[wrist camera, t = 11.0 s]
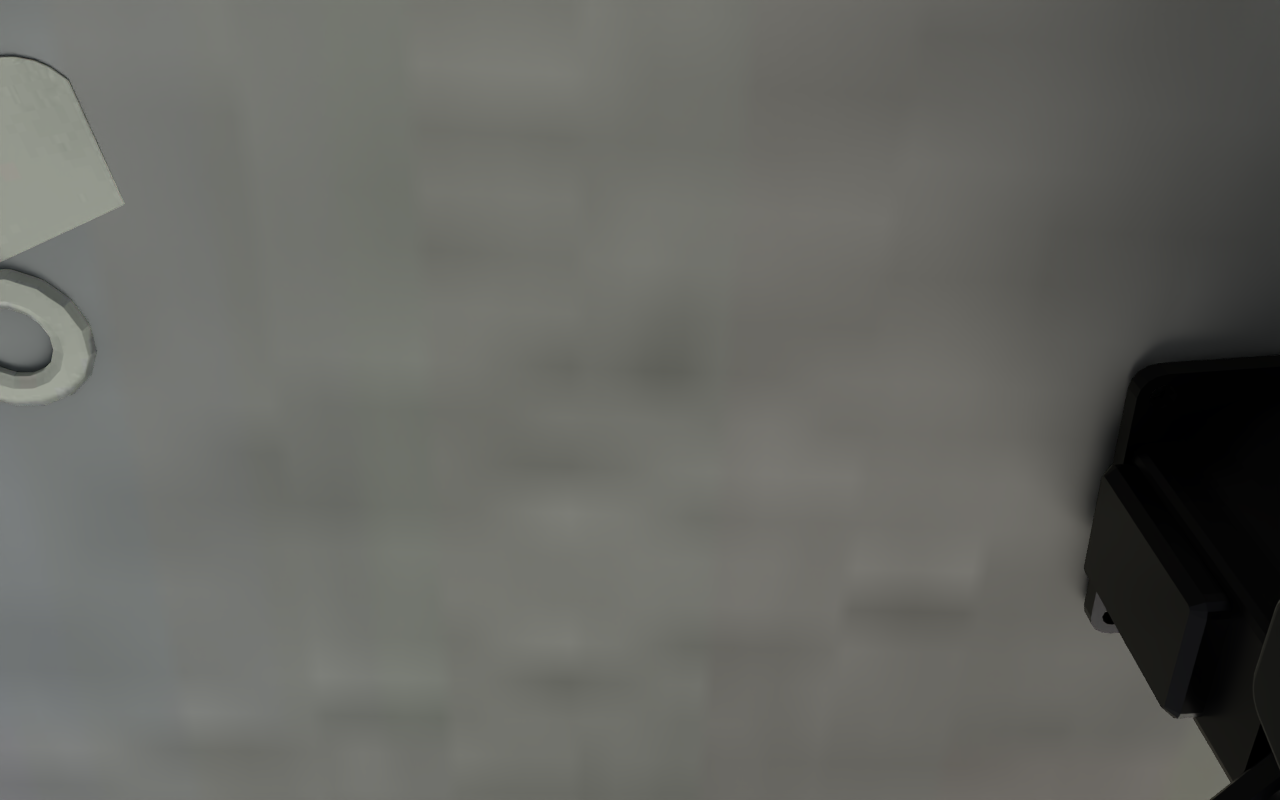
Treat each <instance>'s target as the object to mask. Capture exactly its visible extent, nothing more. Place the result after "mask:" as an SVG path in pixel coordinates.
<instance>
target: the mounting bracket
mask: <svg viewBox="0 0 1280 800" xmlns="http://www.w3.org/2000/svg"><path fill="white" fill-rule="evenodd" d="M122 205H125V204H124V201H123V199H122V197H121V195H120V192H119V190H118V188H117V186H116V184H115V181H114V179H113V177H112V175H111V172H110V170H109V168H108V166H107V164H106V161H105V159H104V157H103V155H102V153H101V150H100V148H99V146H98V144H97V141H96V139H95V137H94V135H93V133H92V130H91V128H90V126H89V124H88V121H87V119H86V117H85V115H84V113H83V110H82V108H81V106H80V104H79V101H78V99H77V97H76V95H75V93H74V90H73V88H72V86H71V84H70V81H69V80H68V79H67V78H65V77H64V76H62V75H61V74H60V73H58V72H57V71H55V70H54V69H53V68H51V67H49V66H47V65H45V64H43V63H40V62H38V61H36V60H32V59H26V58H21V57H16V56H7V57H0V262H2V261H4V260H6V259H8V258H10V257H12V256H15V255H17V254H19V253H21V252H23V251H25V250H28V249H30V248H32V247H34V246H36V245H38V244H40V243H43V242H45V241H47V240H49V239H51V238H53V237H56V236H58V235H60V234H62V233H64V232H66V231H69V230H71V229H73V228H75V227H77V226H79V225H81V224H84V223H86V222H88V221H90V220H92V219H94V218H97V217H99V216H101V215H103V214H105V213H107V212H109V211H112V210H114V209H116V208H118V207H120V206H122ZM0 309H10V310H13V311H16V312H19V313H22V314H26V315H27V316H29V317H30V318H32V319H33V320H34V321H36V322H37V323H39V324H40V325H41V326H42V328H43V329H44V330H45V331H46V333H47V334H48V335H49V337H50V340H51V343H52V347H53V354H52V359H51V362H50V363H49V365H48V366H47V367H45V368H43V369H40V370H38V371H35V372H15V371H12V370H9V369H6V368H2V367H1V366H0V401H1V402H4V403H8V404H11V405H14V406H45V405H47V404H50V403H52V402H55V401H57V400H60V399H62V398H65V397H67V396H70V395H72V394H74V393H76V391H77V390H78V389H79V388H80V387H81V386H82V385H83V384H84V383H85V382H86V381H87V379H88V378H89V377H90V376H91V375H92V370H93V366H94V361H95V357H96V353H97V350H96V346H95V342H94V339H93V335H92V331H91V327H90V324H89V323H88V322H87V320H86V319H85V318H84V316H83V315H82V313H81V312H80V311H79V309H78V308H77V307H76V305H75V304H74V303H73V301H72V300H71V299H70V298H68V297H67V296H65V295H64V294H63V293H61V292H60V291H58V290H57V289H55V288H54V287H53V286H51V285H50V284H48V283H47V282H46V281H44V280H42V279H39V278H36V277H33V276H30V275H27V274H24V273H21V272H18V271H15V270H12V269H0Z"/></svg>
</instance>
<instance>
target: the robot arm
mask: <svg viewBox="0 0 1280 800" xmlns="http://www.w3.org/2000/svg"><path fill="white" fill-rule="evenodd" d="M1165 385H1168V386H1167V388H1166V390H1165V391H1164V392H1163V393H1161V394H1160V395H1159V396H1155V397H1150V396H1151V394H1152V392H1153V391H1154V390H1156V389H1157V388H1158V387H1161V386H1165ZM1084 569H1085V572H1086V574H1087V576H1088V578H1089V583H1088V588H1087V593H1086V598H1085V603H1084V611H1085V613H1086V615H1087V617H1088V618H1089V620H1090V622H1091V624H1092V625H1093V627H1094V628H1095V629H1096V630H1098V631H1100V632H1104V633H1118V632H1119V633H1120V635H1121V636H1122V638H1123V640H1124V642H1125V644H1126V645H1127V647H1128V649H1129V651H1130V652H1131V654H1132V656H1133V658H1134V660H1135V661H1136V663H1137V665H1138V667H1139V668H1140V670H1141V672H1142V674H1143V676H1144V677H1145V679H1146V681H1147V683H1148V684H1149V686H1150V688H1151V690H1152V692H1153V693H1154V695H1155V697H1156V699H1157V700H1158V702H1159V704H1160V706H1161V707H1162V708H1163V709H1164V710H1165V711H1166V712H1167V713H1169V714H1170V715H1171V716H1172V717H1173V718H1192V717H1193V719H1194V721H1195V722H1196V724H1197V726H1198V728H1199V729H1200V731H1201V733H1202V734H1203V736H1204V738H1205V740H1206V741H1207V743H1208V745H1209V746H1210V748H1211V750H1212V751H1213V753H1214V755H1215V757H1216V758H1217V760H1218V762H1219V763H1220V765H1221V767H1222V768H1223V770H1224V772H1225V774H1226V775H1227V777H1228V779H1229V780H1230V782H1231V783H1230V784H1229V785H1228V786H1226V787H1225V788H1224V789H1222V790H1221V791H1220V792H1219V793H1217V794H1216V795H1215V796H1214V797H1212V798H1211V799H1210V800H1280V355H1276V356H1261V357H1246V358H1231V359H1216V360H1201V361H1186V362H1171V363H1158V364H1154V365H1150V366H1147V367H1146V368H1144V369H1142V370H1140V371H1139V372H1138V373H1137V374H1136V375H1135V376H1134V377H1133V378H1132V380H1131V383H1130V385H1129V387H1128V392H1127V397H1126V401H1125V406H1124V411H1123V416H1122V421H1121V426H1120V431H1119V436H1118V441H1117V446H1116V451H1115V455H1114V460H1113V465H1112V466H1110V467H1109V468H1108V470H1107V471H1106V472H1105V474H1104V475H1103V476H1102V479H1101V484H1100V489H1099V494H1098V499H1097V504H1096V509H1095V514H1094V519H1093V524H1092V529H1091V534H1090V539H1089V544H1088V550H1087V555H1086V560H1085V565H1084ZM1105 611H1107V612H1105Z"/></svg>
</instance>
